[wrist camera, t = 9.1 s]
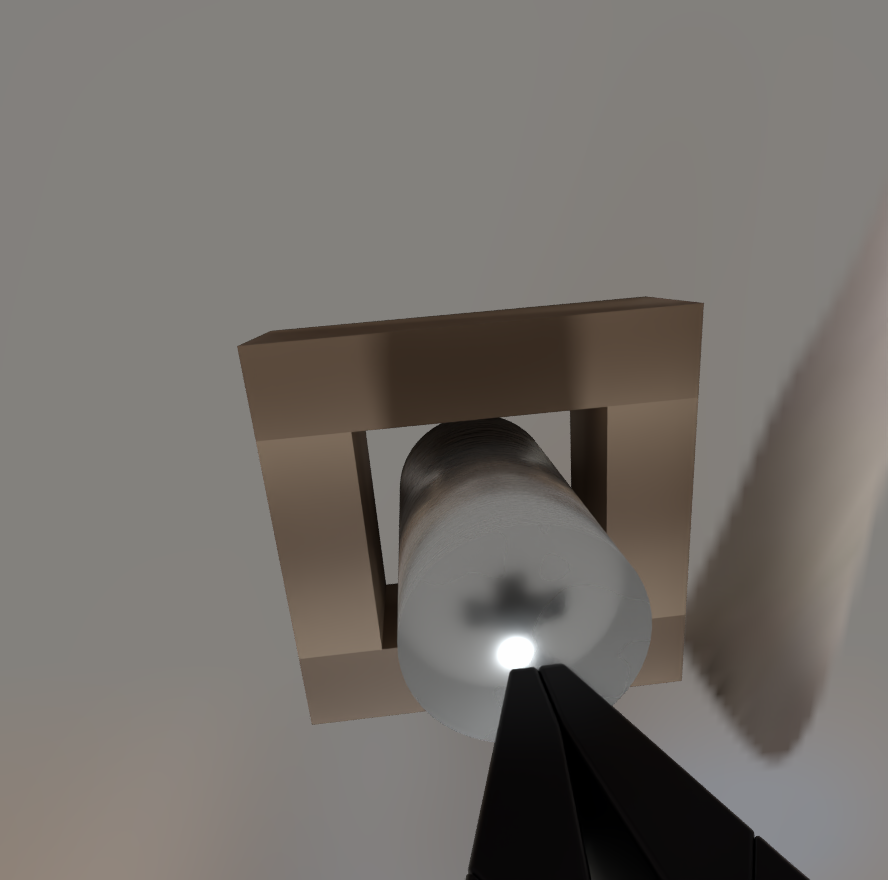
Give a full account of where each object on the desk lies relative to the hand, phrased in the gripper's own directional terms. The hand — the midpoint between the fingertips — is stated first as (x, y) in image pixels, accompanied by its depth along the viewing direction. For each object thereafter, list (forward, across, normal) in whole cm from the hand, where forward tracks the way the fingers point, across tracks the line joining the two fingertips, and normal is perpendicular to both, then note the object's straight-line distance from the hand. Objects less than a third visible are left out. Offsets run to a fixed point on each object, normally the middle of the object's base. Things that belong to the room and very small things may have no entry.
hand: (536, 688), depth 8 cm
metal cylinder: (+8, 0, 0) cm, 8 cm away
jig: (+8, 0, 0) cm, 8 cm away
